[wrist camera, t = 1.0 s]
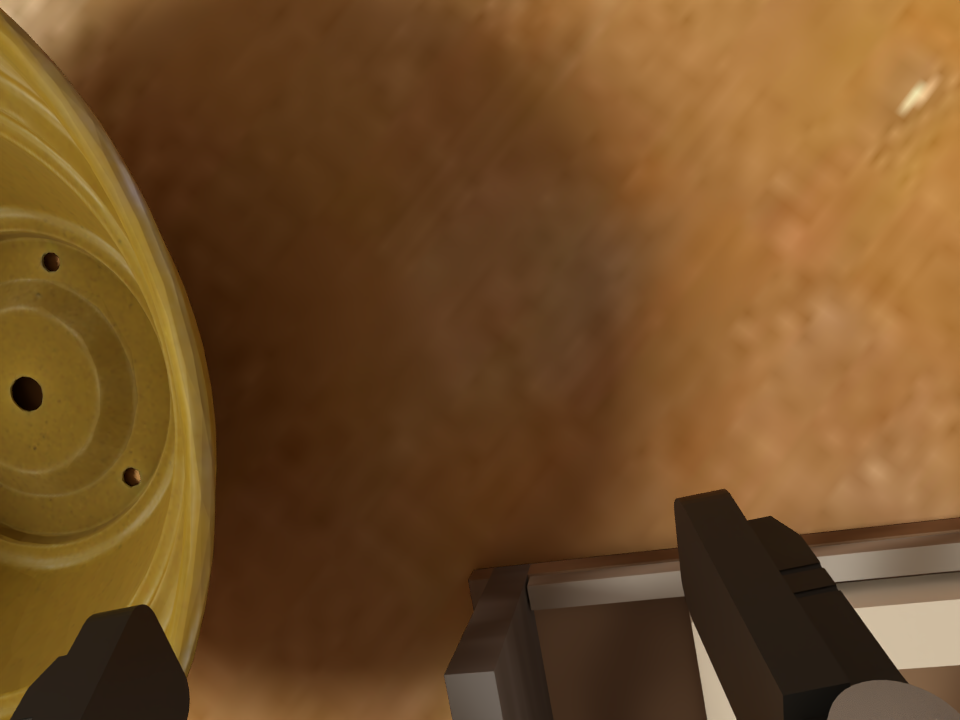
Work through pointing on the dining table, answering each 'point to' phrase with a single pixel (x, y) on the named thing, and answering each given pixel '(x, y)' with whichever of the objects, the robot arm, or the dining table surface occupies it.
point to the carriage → (880, 627)
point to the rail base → (641, 629)
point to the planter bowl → (91, 388)
